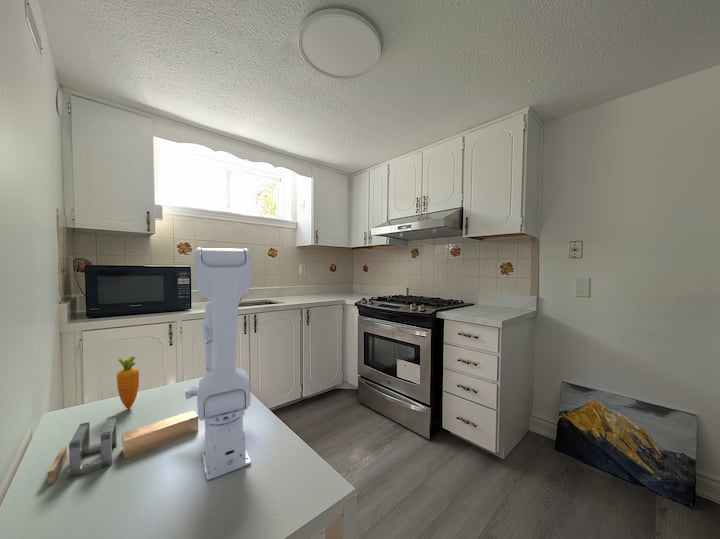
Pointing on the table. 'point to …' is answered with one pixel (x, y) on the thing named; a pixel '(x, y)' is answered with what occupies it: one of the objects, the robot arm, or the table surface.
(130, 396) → the carrot
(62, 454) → the bar
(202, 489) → the table surface
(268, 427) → the table surface
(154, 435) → the pine wood beam
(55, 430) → the table surface
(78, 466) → the gray metal beam bracket
